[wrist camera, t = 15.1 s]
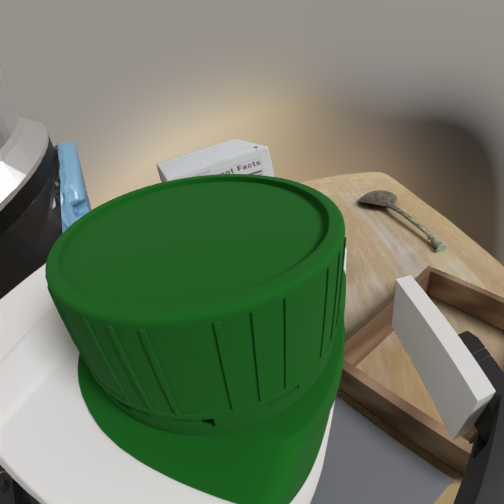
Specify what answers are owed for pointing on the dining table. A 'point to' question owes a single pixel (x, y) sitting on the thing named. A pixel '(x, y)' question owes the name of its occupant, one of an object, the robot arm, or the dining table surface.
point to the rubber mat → (372, 466)
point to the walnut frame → (392, 406)
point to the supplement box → (219, 161)
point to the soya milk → (179, 348)
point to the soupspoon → (389, 200)
